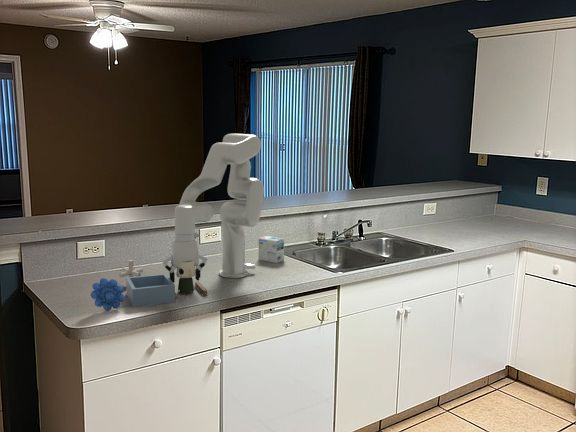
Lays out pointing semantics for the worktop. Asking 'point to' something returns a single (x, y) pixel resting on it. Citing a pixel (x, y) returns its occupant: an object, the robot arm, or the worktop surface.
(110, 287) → the blue flower
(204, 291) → the seat rails
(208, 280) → the worktop surface
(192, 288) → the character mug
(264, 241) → the light bulb box
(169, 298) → the bin
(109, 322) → the worktop surface
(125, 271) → the pipe connector
